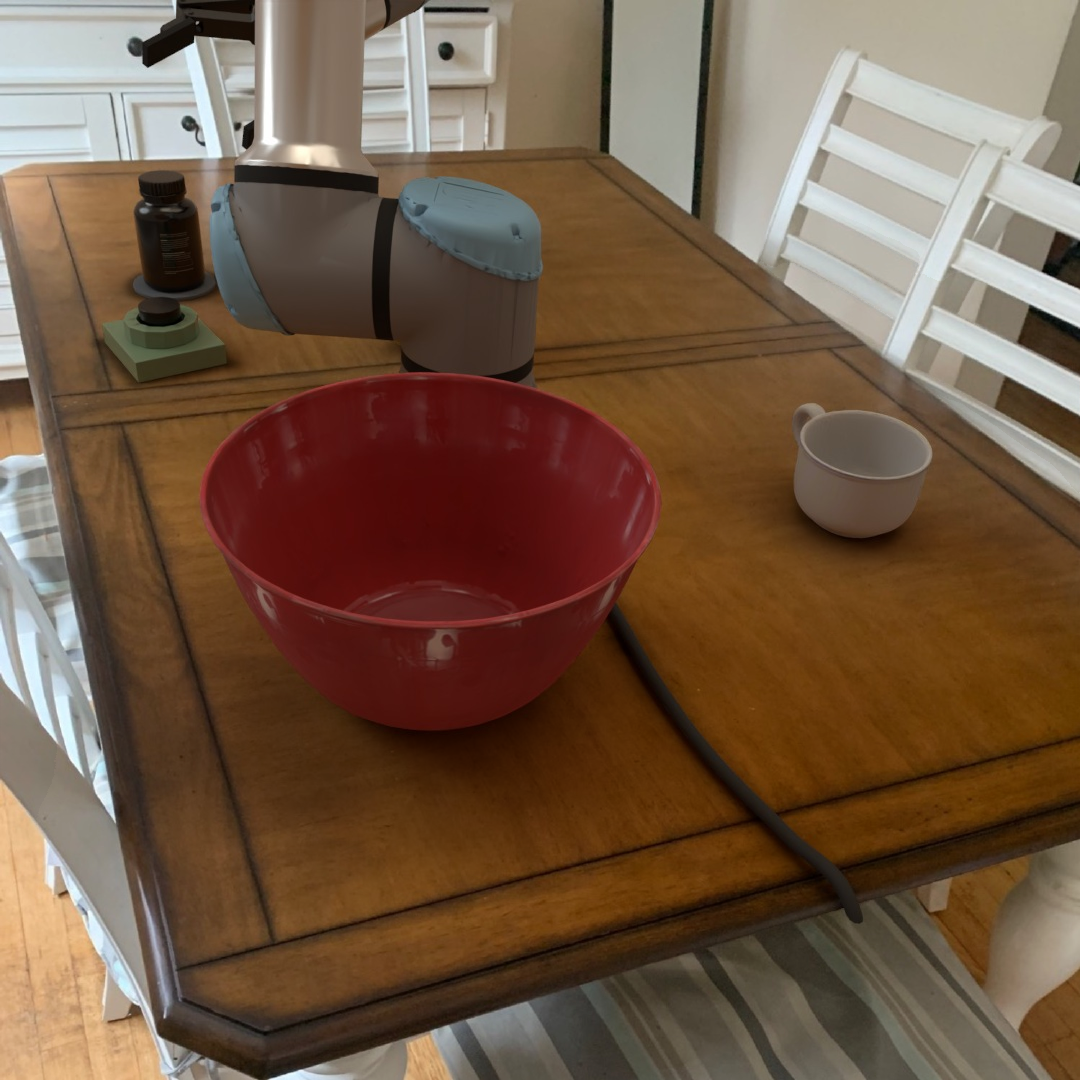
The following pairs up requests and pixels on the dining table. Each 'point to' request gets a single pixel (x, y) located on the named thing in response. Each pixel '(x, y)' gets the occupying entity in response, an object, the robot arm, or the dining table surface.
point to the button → (159, 312)
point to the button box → (164, 346)
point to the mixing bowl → (430, 539)
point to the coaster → (193, 293)
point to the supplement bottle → (168, 233)
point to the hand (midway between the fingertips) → (194, 96)
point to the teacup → (857, 469)
